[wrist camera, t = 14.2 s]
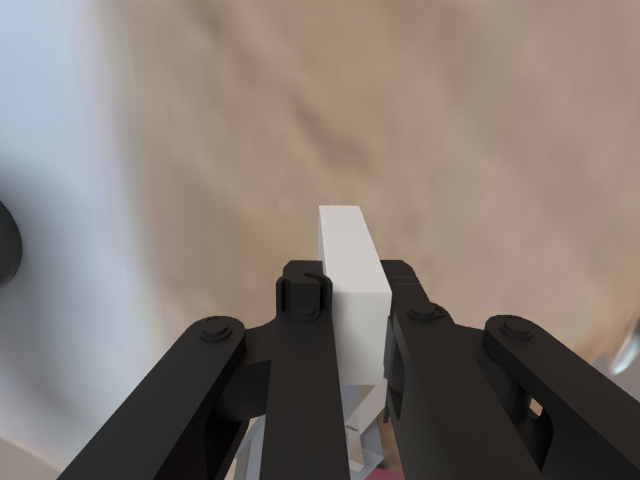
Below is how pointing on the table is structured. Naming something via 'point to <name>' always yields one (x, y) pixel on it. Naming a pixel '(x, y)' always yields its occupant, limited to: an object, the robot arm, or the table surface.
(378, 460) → the grey stepped block
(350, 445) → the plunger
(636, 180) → the table surface
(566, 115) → the table surface
